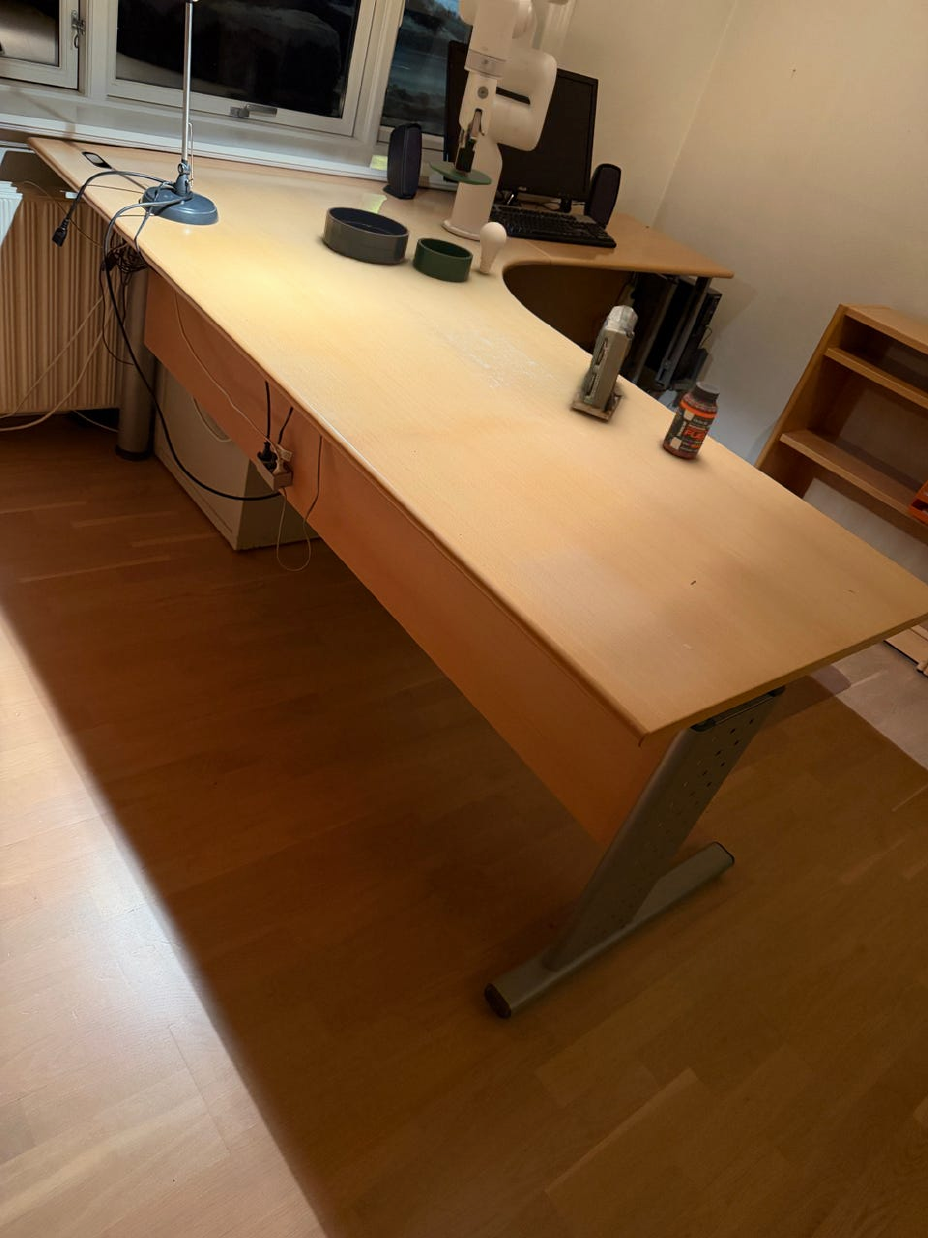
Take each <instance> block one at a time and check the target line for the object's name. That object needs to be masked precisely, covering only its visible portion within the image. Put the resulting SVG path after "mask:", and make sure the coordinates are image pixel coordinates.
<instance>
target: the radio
mask: <svg viewBox="0 0 928 1238" xmlns="http://www.w3.org/2000/svg"><path fill="white" fill-rule="evenodd" d="M638 320H639V319H638V315H637V313H636V312H635V310H634V309H633V308H632V307H630V306H628V305H626V304H623V305H618V306H613V307H612V309H611V310H610V312H609V314H608V316H607V317H606V320H605V322H604V323H603V325H602V327H601V329H600V331H599V332H598V334H597V335H598V336H597V338H596V341H595V346H594V349H593V354H592V357H591V360H590V363H589V367H588V370H587V371H586V373H585V374H584V377H583V381H582V384H581V386H580V387H579V388H578V390H577V391H576V393H575V394H574V395H573V398H572V402H571V408H574V409H576V410H580V411H583V412H585V413H588V414H590V415H593V416H596V417H599V418H601V419H604V420H608V421H609V420H610V418H612V417H611V416H612V415H613V413H614V411H615V410H616V408H617V406H618V404H619V402H620V401H621V398H622V397H623V393H622V391H620V390H619V389H618V387H617V386H618V384H619V383H618V382H617V380H618V377H619V374H620V372H621V369H622V366H623V363H624V361H625V359H626V357H627V356H629V355H628V354H629V352H630V351H631V350H630V349H631V348H632V343H633V340H634V339H635V336H636V333H635V332H634V329H635V326H636V324H637V322H638Z"/></svg>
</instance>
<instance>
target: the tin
mask: <svg viewBox="0 0 928 1238" xmlns="http://www.w3.org/2000/svg"><path fill="white" fill-rule="evenodd" d="M473 259H474V254H473V253H472V252H471V251H470V250H469V249H467V248H466V247H463V246H461V245H459V244H457V243H454V242H450V241H447V240H443V239H440V238H435V237H421V238H418V239H417V242H416V246H415V250H414V255H413V261H412V266H413V267H414V269H415V270H416V271H418V272H420V273H422V274H423V275H426V276H428V277H431V278H434V279H437V280H440V281H444V282H451V283H464V282H467V281H468V278H469V275H470V270H471V268H472V267H471V266H472V263H473Z"/></svg>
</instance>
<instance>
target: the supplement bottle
mask: <svg viewBox="0 0 928 1238" xmlns="http://www.w3.org/2000/svg"><path fill="white" fill-rule="evenodd" d="M720 394H721V390H720V389H719V388H717V387H716V386H715V385H712V384H710V383H708V382H704V381H697V382H696V383H695V385H694V387H693V388H692V391H691V392H688V393H686V394H685V395H683V396H682V399H681V401H680V403H679V405H678V407H677V409H676V412H675V414H674V417H673V419H672V421H671V423H670V425H669V428H668V430H667V432H666V434H665V436H664V438H663V442H662V443H663V446H664V447H665V449H666V450H667V451H668V452H670V453H671V454H673V455H675V456H677V457H680V458H685V459H692V458H696V456H697V455H698V453H699V452H700V449H701V448H702V446H703V445H704V444H703V443H704V441H705V439H706V437H707V435H708V434H709V431H710V428H711V427H712V424H713V422H714V420H715V418H716V416H717V414H718V411H719V405H718V403H717V401H718V399H719V396H720Z"/></svg>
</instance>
